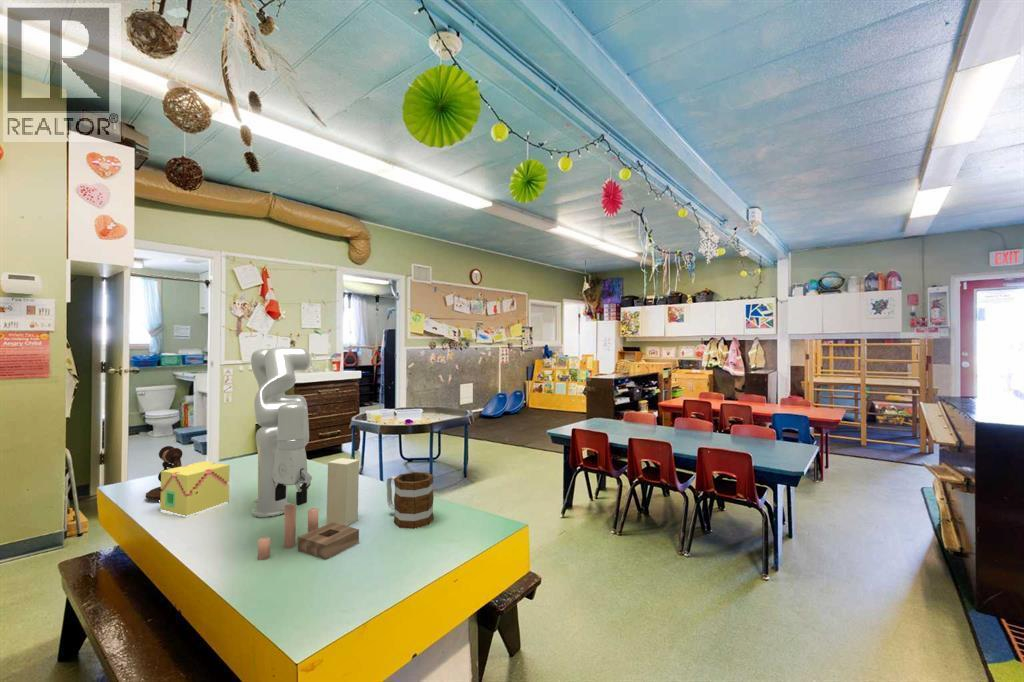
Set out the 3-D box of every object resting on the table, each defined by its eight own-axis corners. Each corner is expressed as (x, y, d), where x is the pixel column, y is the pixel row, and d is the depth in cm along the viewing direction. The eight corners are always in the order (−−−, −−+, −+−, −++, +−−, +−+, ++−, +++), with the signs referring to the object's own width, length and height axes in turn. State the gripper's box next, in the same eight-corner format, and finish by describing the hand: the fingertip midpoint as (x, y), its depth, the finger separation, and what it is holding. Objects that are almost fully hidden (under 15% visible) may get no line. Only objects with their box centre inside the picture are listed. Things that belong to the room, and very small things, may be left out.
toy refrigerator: (360, 519, 147) (360, 459, 148) (345, 527, 140) (345, 464, 141) (341, 516, 150) (342, 457, 150) (326, 524, 143) (326, 462, 144)
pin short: (255, 558, 120) (255, 540, 120) (265, 553, 122) (266, 536, 122) (262, 560, 118) (262, 542, 118) (272, 556, 121) (272, 538, 121)
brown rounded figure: (198, 494, 172) (199, 445, 173) (153, 506, 160) (155, 453, 161) (183, 488, 180) (184, 441, 181) (139, 498, 168) (140, 448, 168)
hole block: (297, 550, 124) (297, 536, 124) (331, 534, 135) (331, 522, 135) (325, 559, 119) (326, 545, 119) (358, 542, 129) (359, 529, 130)
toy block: (160, 512, 154) (161, 471, 154) (203, 499, 168) (204, 461, 168) (186, 518, 148) (187, 475, 149) (228, 504, 162) (229, 465, 163)
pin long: (281, 546, 127) (282, 506, 127) (291, 542, 129) (291, 503, 130) (288, 548, 125) (289, 508, 126) (297, 544, 128) (298, 504, 128)
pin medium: (305, 536, 134) (305, 510, 134) (313, 532, 136) (314, 507, 137) (312, 538, 132) (312, 512, 133) (320, 534, 135) (320, 509, 135)
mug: (441, 518, 149) (441, 475, 149) (414, 532, 137) (414, 485, 137) (401, 507, 159) (401, 467, 159) (372, 520, 147) (373, 476, 147)
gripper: (261, 444, 129) (260, 501, 128) (299, 449, 121) (298, 510, 120) (284, 440, 135) (283, 494, 134) (321, 444, 127) (321, 502, 127)
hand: (290, 501), depth 127 cm, fingers open, 9 cm apart
